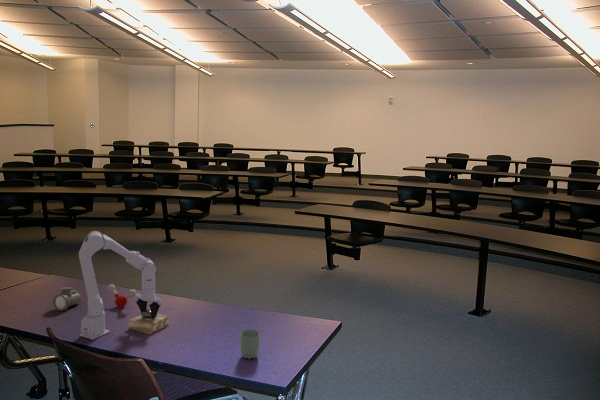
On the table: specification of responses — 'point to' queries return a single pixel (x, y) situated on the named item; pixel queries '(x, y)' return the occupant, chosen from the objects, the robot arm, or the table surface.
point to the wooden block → (148, 323)
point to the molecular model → (121, 300)
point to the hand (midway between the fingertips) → (149, 316)
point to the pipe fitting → (66, 298)
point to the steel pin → (147, 314)
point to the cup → (249, 343)
